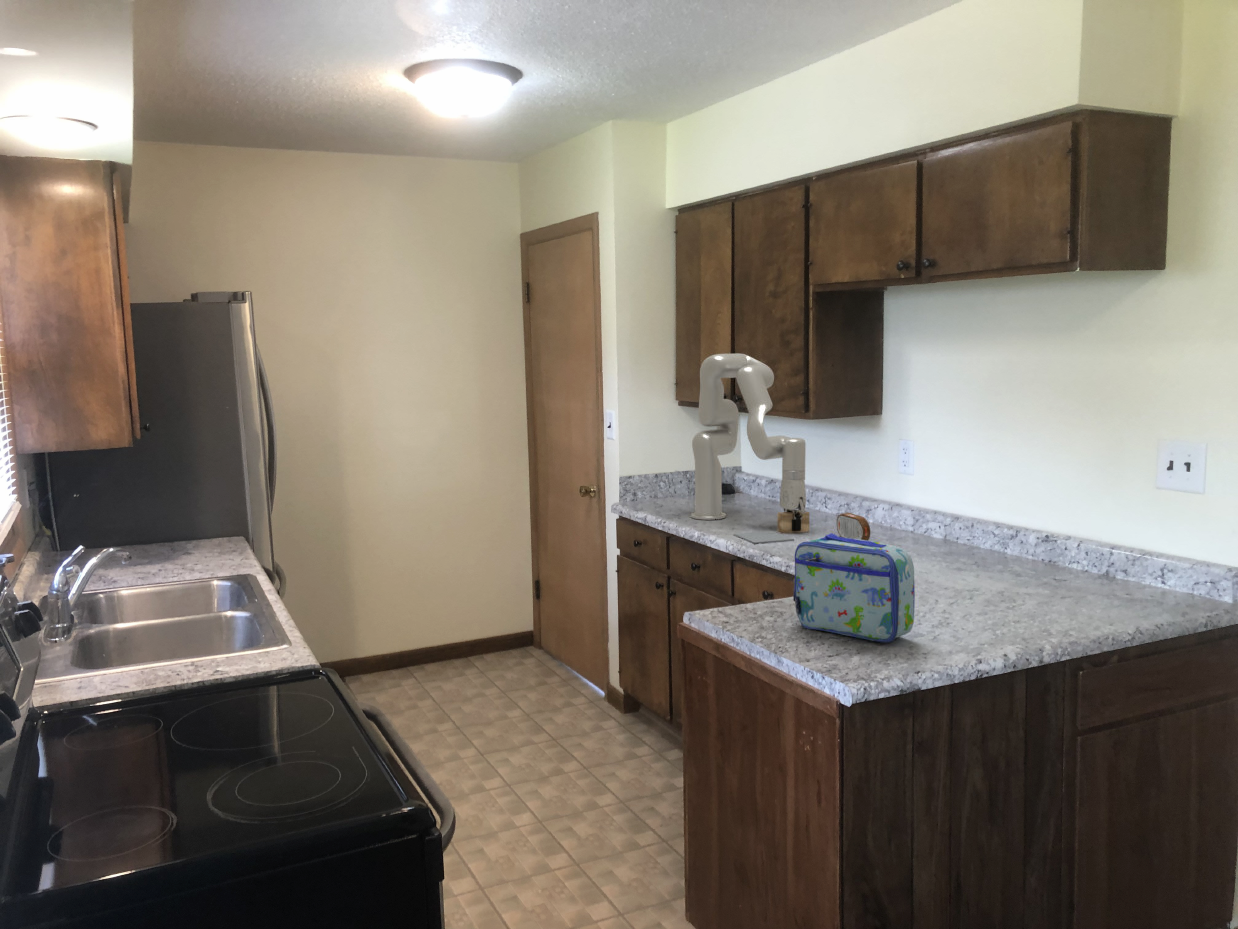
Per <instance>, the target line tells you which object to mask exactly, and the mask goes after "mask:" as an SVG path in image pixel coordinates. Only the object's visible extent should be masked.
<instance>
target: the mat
mask: <svg viewBox="0 0 1238 929" xmlns="http://www.w3.org/2000/svg"><path fill="white" fill-rule="evenodd" d="M734 535H735V536H734ZM733 536H734V537H736V538H739V537H740V538H739V539H741V538H743V539H742V540H744V539H745V540H744V541H746V540H747V541H746V542H748V541H749V542H748V543H751V542H752V543H751V544H753V543H754V545H758V544H757V543H761V544H768V543H767V542H772V543H780V542H781V543H782V542H793V541H795V539H794V538H793V537H790V536H788V535H785V534H782V533H779V532H776V531H775V530H771V529H770V530H762V531H761V530H760V531H752V532H740V533H739V532H737V533H733Z"/></svg>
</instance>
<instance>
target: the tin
mask: <svg viewBox="0 0 1238 929" xmlns="http://www.w3.org/2000/svg"><path fill="white" fill-rule="evenodd" d="M836 530H837V533H838V536H839V537H843V538H852V539H860V540H867V541H870V537H871V527H870V524H869V522H868V520H867V519H866V518H865V517H864V516H863V515H862V516H861V515H858V514H854V513H852V512H843V513H840V514H838V516H837V517H836Z"/></svg>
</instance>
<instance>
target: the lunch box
mask: <svg viewBox="0 0 1238 929" xmlns="http://www.w3.org/2000/svg"><path fill="white" fill-rule="evenodd" d="M793 584H794V585H793V598H792V599H793V602H794V605H795V614H796V615H797V618H798V620H799V622H800V624H801V625H802V627H803V628H805V629H807V630H816V631H817V630H818V631H823V632H828V633H834V634H837V635H842V636H846V637H847V636H848V637H851V638H856V639H861V640H868V641H871V642H878V643H891V642H893V641H894V640H895V639H896V638H899V637H903V636H904V635H907V634H909V633H910V632H911V631H912V629H913V627H914V621H915V593H916V592H915V589H916V588H915V566H914V562H913V560H912V557H911V555H910V554H909V552H908V551H906V550H905V549H904V548H901V547H898V546H897V545H896V546H895V545H893V544H892V545H891V544H889V543H883V542H879V541H872V540H868V541H867V540H860V539H852V538H843V537H841V536H839V535H837V534H834V533H833V532H831V533H828V534H826V535H825V536H821V537H818V538H815V539H811V540H808V541H803V542H800V543H799V544H798V545H797V546H796V549H795V551H794V578H793Z"/></svg>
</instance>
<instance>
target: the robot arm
mask: <svg viewBox="0 0 1238 929" xmlns="http://www.w3.org/2000/svg"><path fill="white" fill-rule="evenodd" d="M729 378H730V379H731V378H733V379H734V378H736V382H737V385H738V388H739V390H740V393H741V395H742V398H743V401H744V403H745V406H746V409H747V411H748V417H747V422H746V435H747V439H748V442H749V444H750V447H751V450H752V452H753V453H754V454H755V456H756V457H757V458H758V459H759V460H762V461H763V460H765V461H767V460H774V459H782V462H781V463H782V464H781V471H782V472H781V482H780V489H779V490H780V491H779V506H780V507H781V509H783V512H793V519H792V531H801V519H802V515H803V514H804V513H805V511H806V506H807V494H806V493H807V492H806V482H805V480H806V448H807V447H806V441H805V439H804V438H801V437H788V436H785V435H773V436H768V435H767V433H766V431H765V427H764V419H765V416H766V414H767V413H768V412H769V411H771V409H772V408H773V402H772V399H771V397H770V394H769V392H768V389H769V388H771V387H772V386H773V384H774V382H775V381H774V380H775V375H774V372H773V370H772V368H770V367H769V366H768V365H767V364H765V363H763V362H762V361H760V360H757V359H755V358H754V357H752V356H749V355H747V354H745V353H738V352H737V353H716V354H712V355H710V356H708V357H706V358H705V359H704V360H703V362H701V366H700V368H699V382H700V383H699V384H700V387H699V388H700V390H699V398H698V400H699V401H698V412H697V413H698V421H699V423H700V424H701V425H702V426H703V427H708V428H709V427H710V428H711V427H715V428H716V429H707V430H702V431H699V432H697V433H696V434H695V435H694V437H693V438H692V442H691V447H692V452H693V453H692V454H693V457H694V458H693V459H694V487H695V488H694V490H695V491H694V492H695V493H694V499H695V502H694V504H695V505H694V510H695V511H694V512H691V514H690V517H691V518H692V519H696V520H703V521H704V520H706V521H708V520H709V521H712V520H713V521H714V520H715V519H716V520H721V519H725V518H726V517H727V514H726V513H725V512H723V511H722V510H723V508H722V501H723V500H722V498H723V496H722V493H723V492H722V491H723V490H722V477H723V476H722V474H723V473H722V465H721V461H720V460H719V458H718V456H723V455H728V454H730V453H733V452H734V450H735V449H736V446H737V442H738V430H739V420H740V418H739V416H740V415H739V410H738V406H737V404H736V403H735V402H734V401H733V400H731V399H728V398H724V395H725V386H724V383H723V381H722V379H729ZM796 512H797V514H796Z"/></svg>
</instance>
